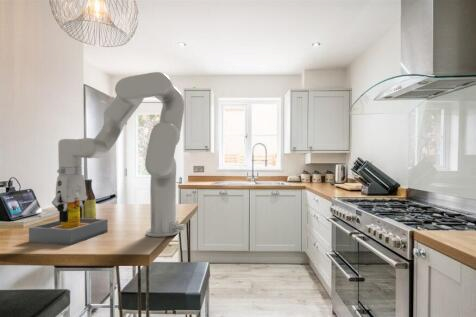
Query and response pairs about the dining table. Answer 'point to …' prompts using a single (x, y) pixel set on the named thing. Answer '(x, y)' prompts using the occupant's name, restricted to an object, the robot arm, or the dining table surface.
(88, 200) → the sauce bottle
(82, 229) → the walled box
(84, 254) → the dining table surface
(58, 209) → the robot arm
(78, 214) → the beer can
